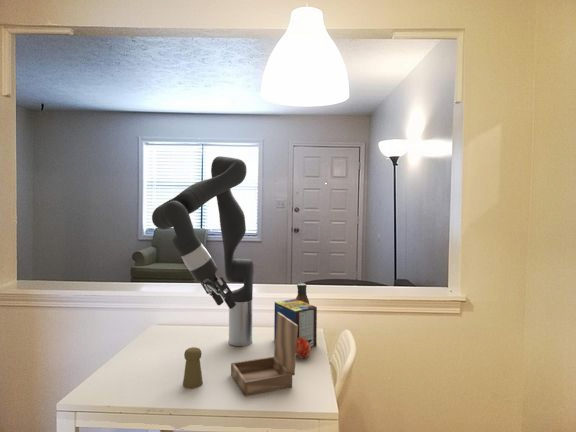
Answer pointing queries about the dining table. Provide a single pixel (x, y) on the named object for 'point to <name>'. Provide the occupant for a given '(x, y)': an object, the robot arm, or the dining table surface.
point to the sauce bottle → (302, 293)
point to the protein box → (299, 318)
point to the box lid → (286, 342)
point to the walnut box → (260, 375)
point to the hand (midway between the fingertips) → (226, 305)
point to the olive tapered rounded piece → (192, 368)
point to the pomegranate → (303, 347)
